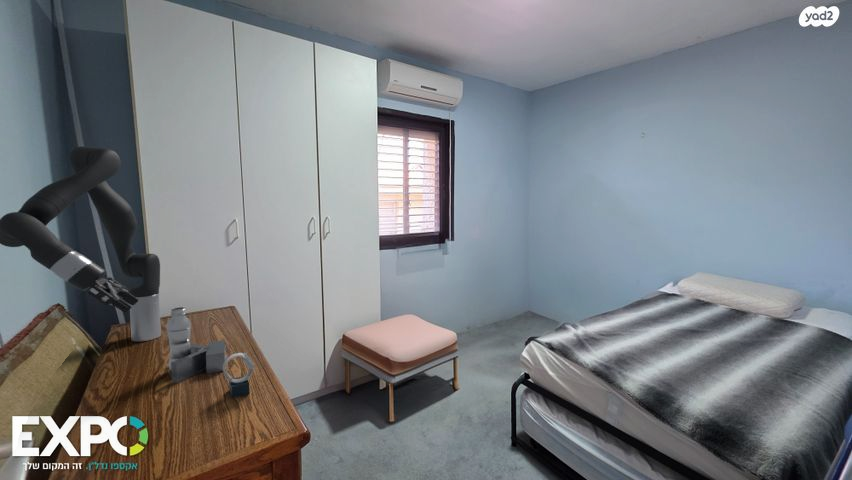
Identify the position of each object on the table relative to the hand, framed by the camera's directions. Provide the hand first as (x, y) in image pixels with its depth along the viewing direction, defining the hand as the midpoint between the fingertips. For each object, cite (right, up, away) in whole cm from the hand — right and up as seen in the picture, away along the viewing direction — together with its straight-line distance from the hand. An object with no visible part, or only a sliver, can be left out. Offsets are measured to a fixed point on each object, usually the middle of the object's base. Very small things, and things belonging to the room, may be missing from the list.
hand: (132, 306), depth 107 cm
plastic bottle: (+10, -22, +7) cm, 25 cm away
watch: (+34, -23, -5) cm, 42 cm away
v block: (+14, -22, +10) cm, 28 cm away
